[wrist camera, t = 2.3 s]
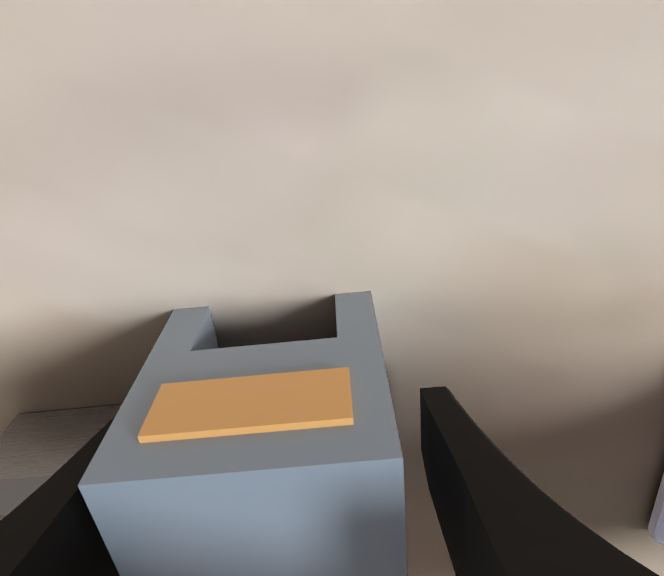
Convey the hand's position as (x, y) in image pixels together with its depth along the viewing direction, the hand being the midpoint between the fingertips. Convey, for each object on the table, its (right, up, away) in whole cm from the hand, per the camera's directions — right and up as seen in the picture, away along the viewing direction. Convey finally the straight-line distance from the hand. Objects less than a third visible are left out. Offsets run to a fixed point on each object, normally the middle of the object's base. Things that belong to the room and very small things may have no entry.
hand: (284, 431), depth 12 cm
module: (0, +1, +1) cm, 2 cm away
